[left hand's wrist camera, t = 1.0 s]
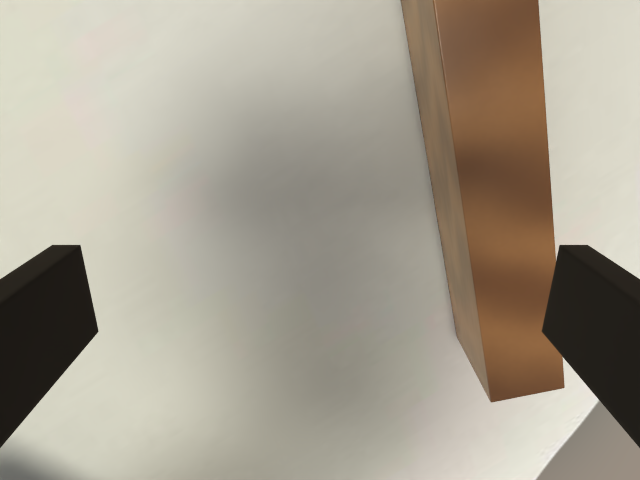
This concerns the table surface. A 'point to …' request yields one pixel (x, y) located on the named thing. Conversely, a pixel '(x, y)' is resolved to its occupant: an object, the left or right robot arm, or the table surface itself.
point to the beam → (490, 181)
